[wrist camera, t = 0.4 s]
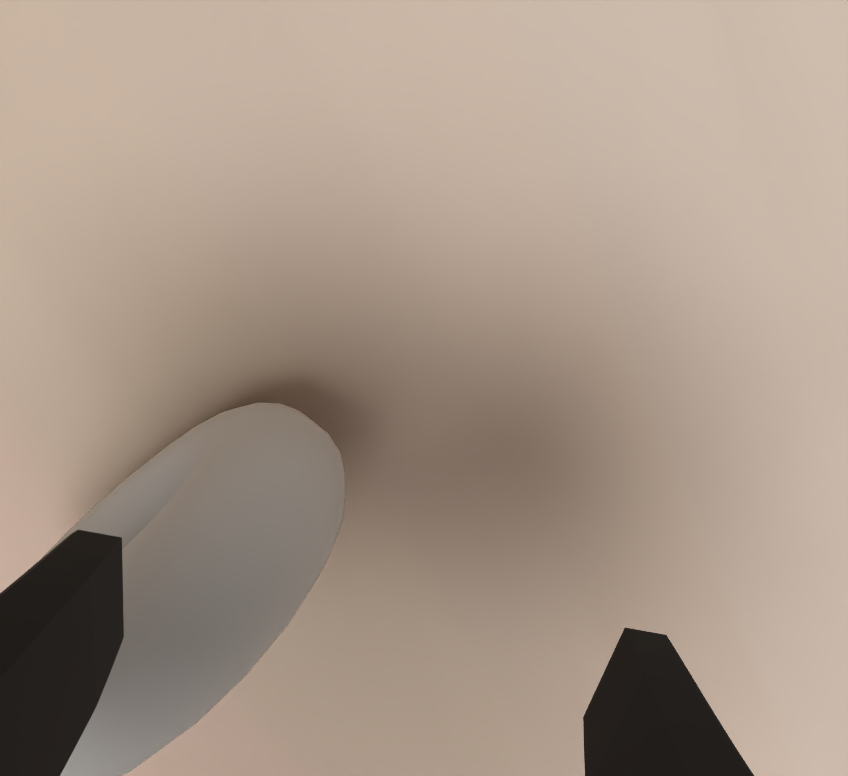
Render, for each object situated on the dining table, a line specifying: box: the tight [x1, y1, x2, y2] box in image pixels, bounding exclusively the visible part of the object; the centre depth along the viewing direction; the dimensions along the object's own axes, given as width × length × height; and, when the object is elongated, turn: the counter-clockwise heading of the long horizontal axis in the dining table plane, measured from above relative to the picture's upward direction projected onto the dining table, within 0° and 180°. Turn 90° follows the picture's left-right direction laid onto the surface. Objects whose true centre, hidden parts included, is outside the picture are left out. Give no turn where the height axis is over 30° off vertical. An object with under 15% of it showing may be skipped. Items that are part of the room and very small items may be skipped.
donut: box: [45, 403, 345, 776], centre depth 18 cm, size 10×4×10 cm, turn 127°
